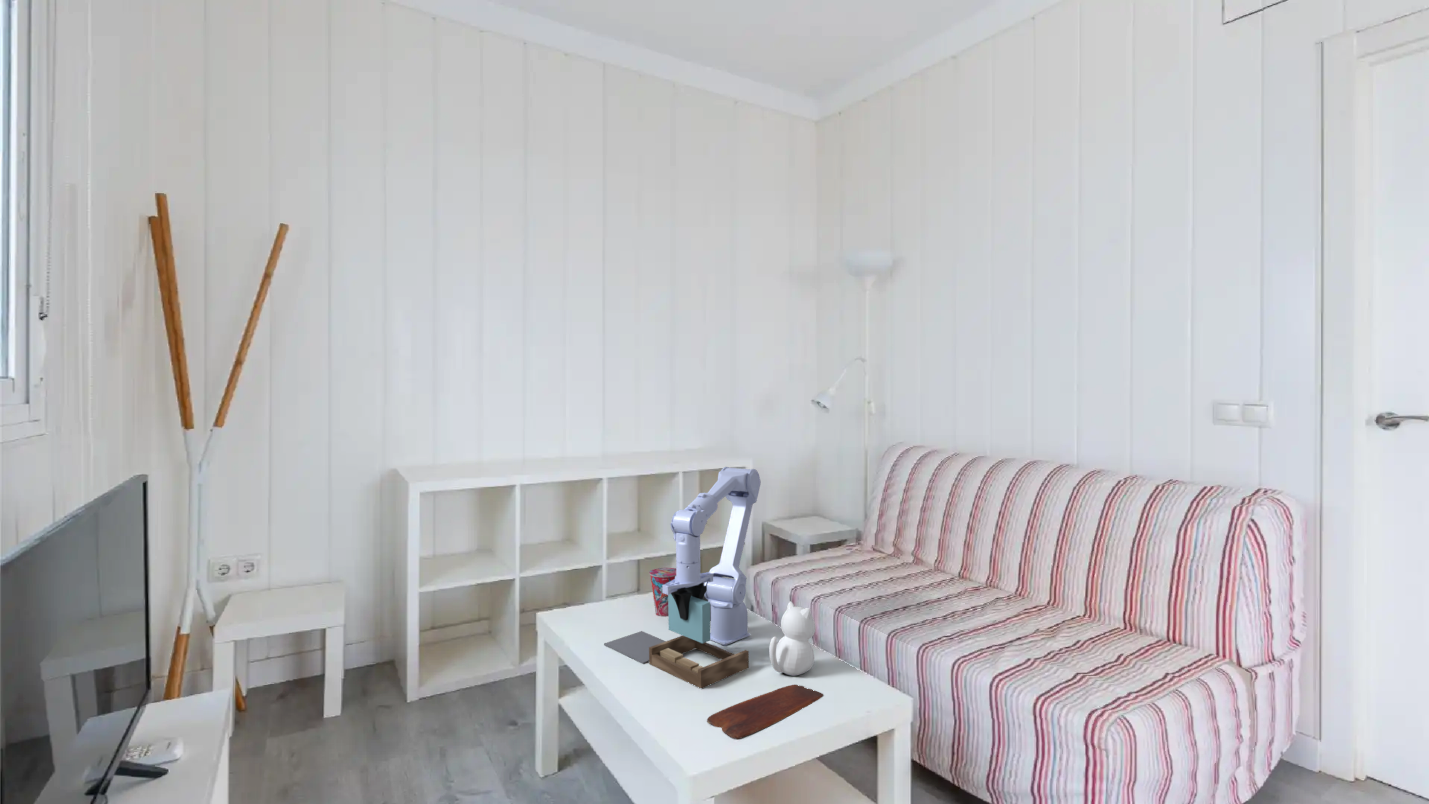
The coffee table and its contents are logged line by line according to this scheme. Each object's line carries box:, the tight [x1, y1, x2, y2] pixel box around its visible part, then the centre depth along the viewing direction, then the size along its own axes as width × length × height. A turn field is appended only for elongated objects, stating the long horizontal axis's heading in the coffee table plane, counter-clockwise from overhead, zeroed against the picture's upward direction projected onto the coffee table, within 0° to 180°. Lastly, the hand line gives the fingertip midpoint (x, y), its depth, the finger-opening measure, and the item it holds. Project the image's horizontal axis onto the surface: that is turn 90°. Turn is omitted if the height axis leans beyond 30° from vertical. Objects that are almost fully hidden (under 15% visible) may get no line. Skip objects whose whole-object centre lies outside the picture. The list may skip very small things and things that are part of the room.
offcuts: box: [660, 648, 703, 673], centre depth 161 cm, size 2×15×3 cm, turn 44°
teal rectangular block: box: [667, 594, 711, 643], centre depth 166 cm, size 2×12×9 cm, turn 44°
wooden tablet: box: [706, 684, 824, 740], centre depth 143 cm, size 27×10×2 cm, turn 131°
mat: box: [603, 630, 667, 665], centre depth 175 cm, size 12×16×1 cm
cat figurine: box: [768, 600, 816, 677], centre depth 160 cm, size 9×12×15 cm
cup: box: [649, 567, 676, 617], centre depth 199 cm, size 9×8×12 cm
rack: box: [648, 635, 750, 689], centre depth 163 cm, size 15×18×4 cm
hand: (688, 617), depth 166 cm, fingers closed on teal rectangular block, 2 cm apart
